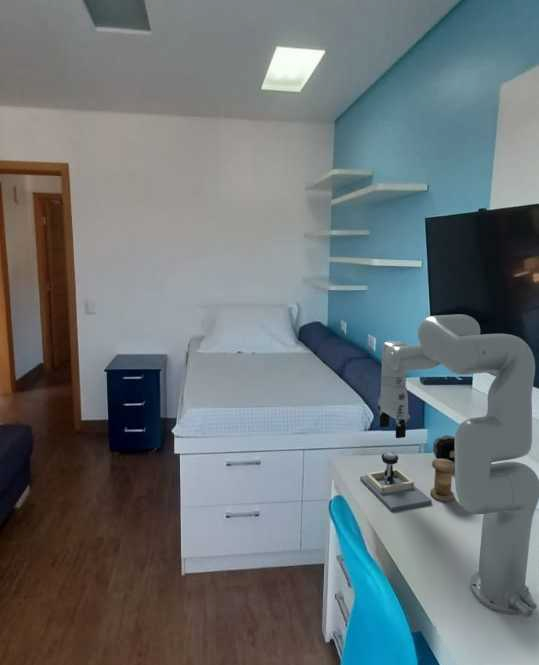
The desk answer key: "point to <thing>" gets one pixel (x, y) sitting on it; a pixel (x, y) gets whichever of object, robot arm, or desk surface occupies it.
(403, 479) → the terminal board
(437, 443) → the cpu cooler
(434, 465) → the wooden cabinet knob
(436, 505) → the desk surface
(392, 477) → the push button
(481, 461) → the robot arm
